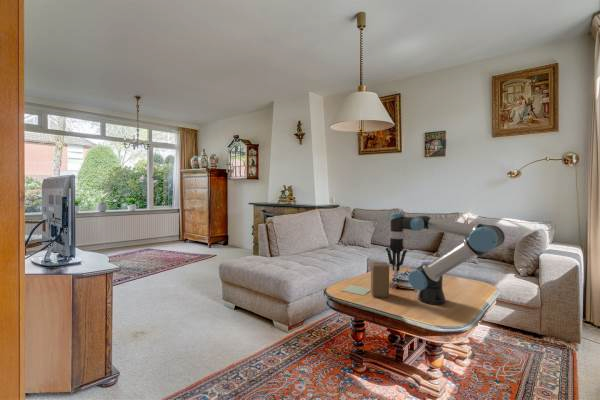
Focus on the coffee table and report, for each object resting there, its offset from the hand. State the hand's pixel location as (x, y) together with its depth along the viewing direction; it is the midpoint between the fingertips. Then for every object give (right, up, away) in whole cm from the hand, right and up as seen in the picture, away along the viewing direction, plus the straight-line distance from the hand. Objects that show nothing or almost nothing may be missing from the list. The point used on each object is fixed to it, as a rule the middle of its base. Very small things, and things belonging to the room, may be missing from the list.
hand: (395, 275), depth 193 cm
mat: (-21, -13, +16) cm, 30 cm away
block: (-8, -14, +7) cm, 18 cm away
